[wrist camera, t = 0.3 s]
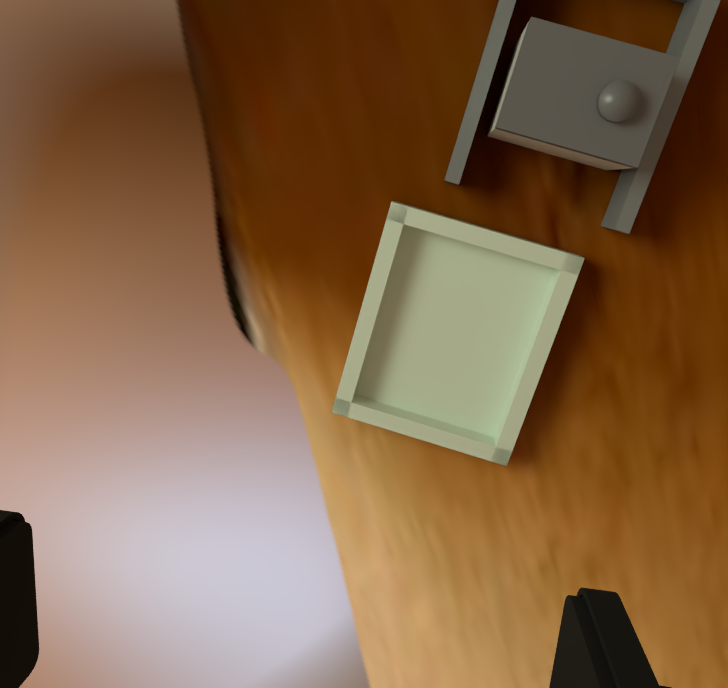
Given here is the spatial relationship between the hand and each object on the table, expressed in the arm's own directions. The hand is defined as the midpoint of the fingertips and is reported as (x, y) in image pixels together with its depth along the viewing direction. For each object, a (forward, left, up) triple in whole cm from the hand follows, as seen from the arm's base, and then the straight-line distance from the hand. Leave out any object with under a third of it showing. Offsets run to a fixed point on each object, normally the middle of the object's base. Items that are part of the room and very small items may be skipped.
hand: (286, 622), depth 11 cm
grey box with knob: (-13, +6, -29) cm, 33 cm away
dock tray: (+1, +4, -29) cm, 30 cm away
